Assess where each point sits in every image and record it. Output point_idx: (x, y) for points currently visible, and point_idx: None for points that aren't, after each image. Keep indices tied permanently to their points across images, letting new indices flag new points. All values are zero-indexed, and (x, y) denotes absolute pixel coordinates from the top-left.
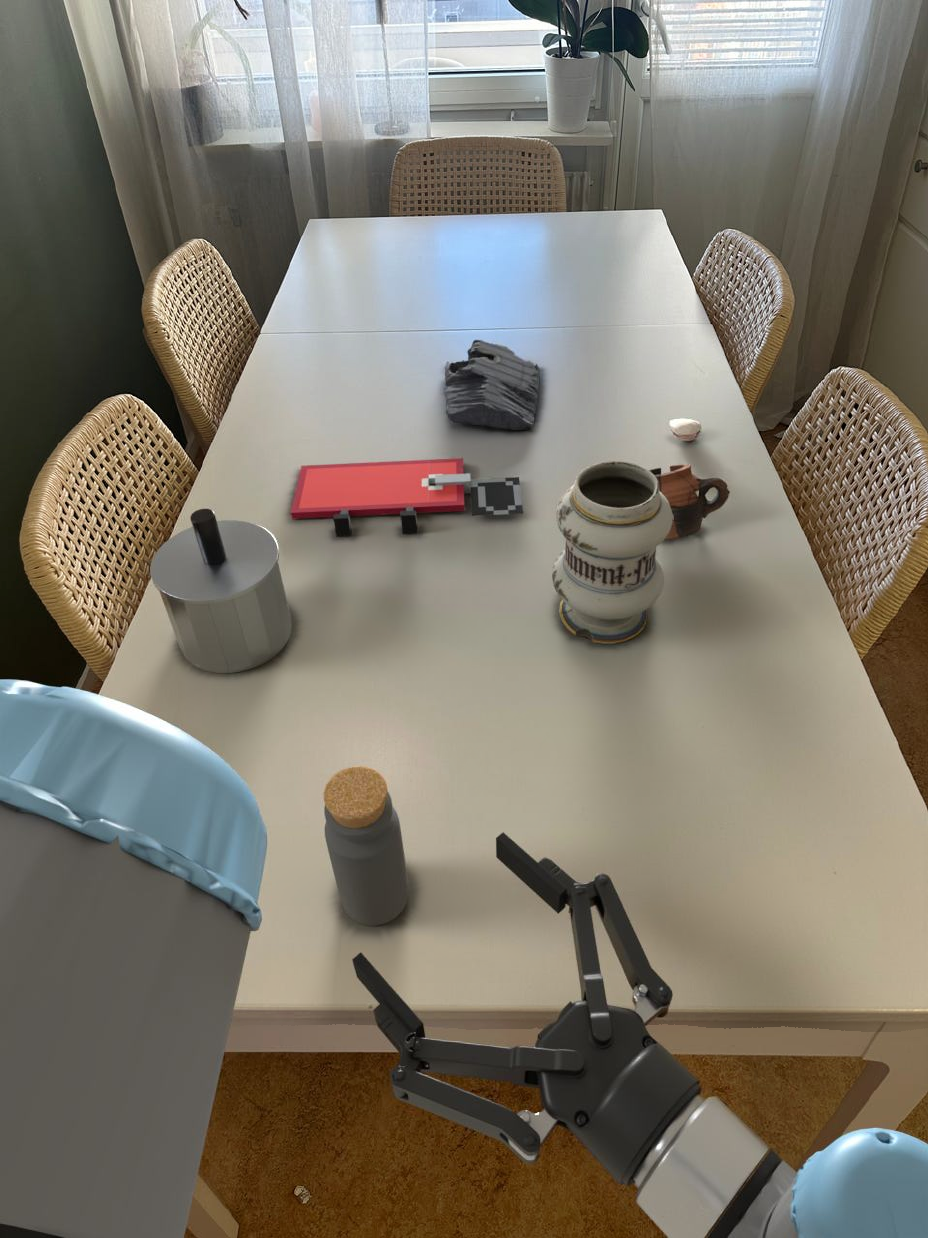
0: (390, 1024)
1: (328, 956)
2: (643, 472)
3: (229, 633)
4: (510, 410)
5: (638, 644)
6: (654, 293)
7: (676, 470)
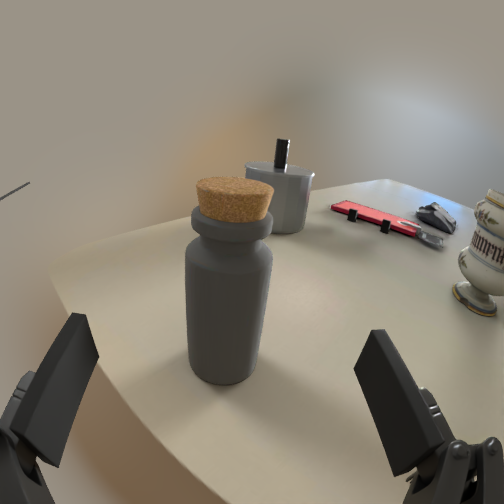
0: (20, 398)
1: (149, 367)
2: None
3: None
4: (444, 222)
5: (491, 320)
6: None
7: None
